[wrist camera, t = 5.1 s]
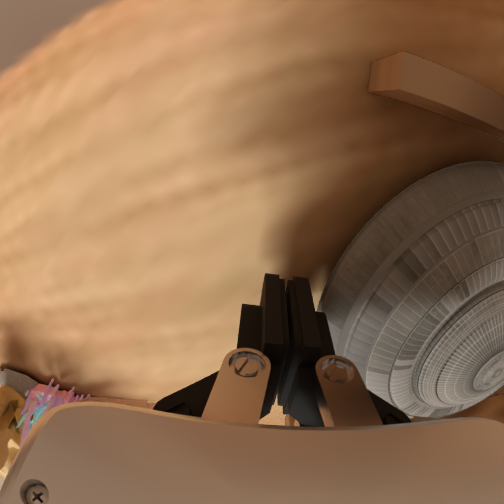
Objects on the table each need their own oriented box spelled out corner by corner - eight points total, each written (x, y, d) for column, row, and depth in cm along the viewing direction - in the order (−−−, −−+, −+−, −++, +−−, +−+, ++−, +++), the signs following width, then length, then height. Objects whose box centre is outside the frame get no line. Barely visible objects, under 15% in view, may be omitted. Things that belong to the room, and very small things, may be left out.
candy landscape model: (10, 434, 26) (-16, 485, 18) (-22, 318, 17) (-87, 396, 8) (183, 512, 30) (174, 568, 22) (272, 454, 21) (270, 560, 12)
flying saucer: (441, 407, 18) (463, 465, 13) (257, 362, 16) (253, 452, 11) (568, 240, 12) (621, 282, 7) (415, 85, 10) (504, 84, 5)
